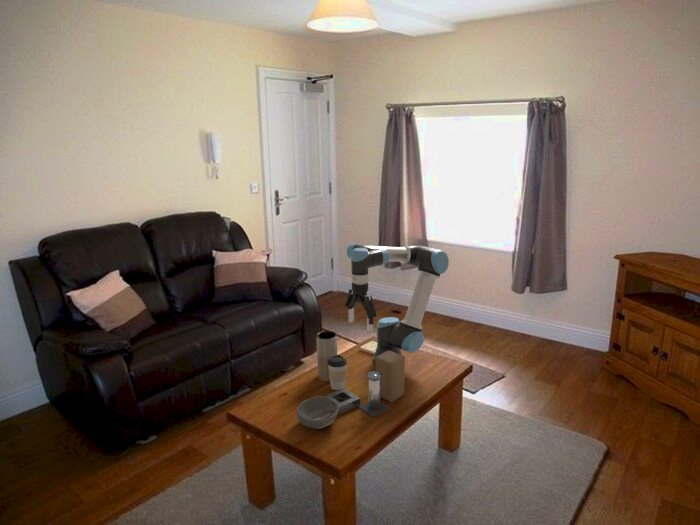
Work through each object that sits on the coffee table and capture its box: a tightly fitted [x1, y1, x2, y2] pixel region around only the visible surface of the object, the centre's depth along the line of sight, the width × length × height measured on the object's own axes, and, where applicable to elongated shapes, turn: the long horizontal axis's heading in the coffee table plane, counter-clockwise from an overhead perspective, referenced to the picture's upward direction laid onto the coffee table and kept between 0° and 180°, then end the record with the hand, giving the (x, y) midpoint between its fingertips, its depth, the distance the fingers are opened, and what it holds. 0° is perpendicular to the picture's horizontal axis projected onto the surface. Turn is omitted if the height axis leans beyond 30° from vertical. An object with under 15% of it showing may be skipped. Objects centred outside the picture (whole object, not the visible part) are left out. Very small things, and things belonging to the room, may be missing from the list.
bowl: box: [295, 395, 339, 430], centre depth 208 cm, size 18×18×8 cm
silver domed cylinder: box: [366, 370, 381, 410], centre depth 217 cm, size 6×6×16 cm
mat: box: [358, 401, 391, 418], centre depth 219 cm, size 10×10×1 cm
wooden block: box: [375, 351, 406, 403], centre depth 227 cm, size 10×10×20 cm
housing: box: [323, 387, 362, 415], centre depth 223 cm, size 12×12×4 cm
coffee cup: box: [328, 354, 348, 391], centre depth 237 cm, size 9×9×15 cm
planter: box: [316, 330, 338, 382], centre depth 245 cm, size 10×10×23 cm
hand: (360, 326), depth 229 cm, fingers open, 13 cm apart
